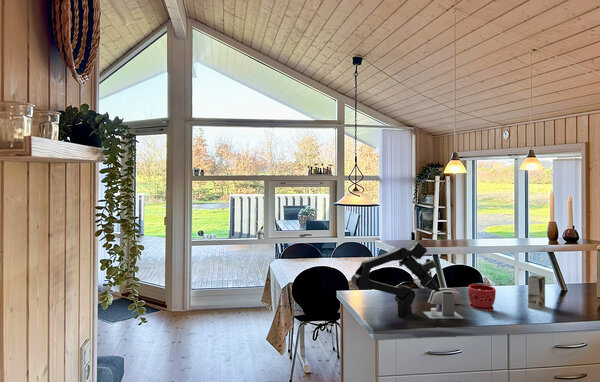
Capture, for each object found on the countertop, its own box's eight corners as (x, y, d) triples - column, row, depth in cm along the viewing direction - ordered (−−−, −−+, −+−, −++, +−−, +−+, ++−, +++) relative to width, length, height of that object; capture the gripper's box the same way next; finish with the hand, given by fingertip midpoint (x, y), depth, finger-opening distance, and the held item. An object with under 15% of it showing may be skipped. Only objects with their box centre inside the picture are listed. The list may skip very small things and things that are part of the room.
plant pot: (462, 308, 220) (462, 285, 220) (481, 305, 225) (481, 283, 225) (482, 314, 208) (482, 290, 208) (501, 312, 213) (501, 288, 213)
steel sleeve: (442, 316, 201) (442, 294, 201) (441, 313, 206) (441, 291, 206) (454, 316, 199) (454, 294, 199) (453, 313, 204) (453, 292, 204)
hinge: (455, 301, 234) (458, 286, 230) (459, 306, 229) (462, 290, 226) (426, 302, 231) (429, 286, 228) (430, 307, 227) (433, 291, 224)
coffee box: (541, 310, 217) (541, 278, 218) (527, 307, 222) (527, 277, 222) (545, 306, 224) (545, 276, 224) (532, 304, 228) (532, 274, 229)
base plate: (429, 321, 197) (429, 311, 197) (422, 314, 208) (422, 305, 208) (463, 321, 197) (463, 311, 197) (455, 314, 208) (455, 305, 208)
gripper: (426, 258, 196) (452, 281, 194) (424, 251, 214) (448, 273, 212) (409, 274, 198) (435, 298, 196) (409, 267, 216) (432, 288, 214)
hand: (438, 288), depth 204 cm, fingers open, 9 cm apart
